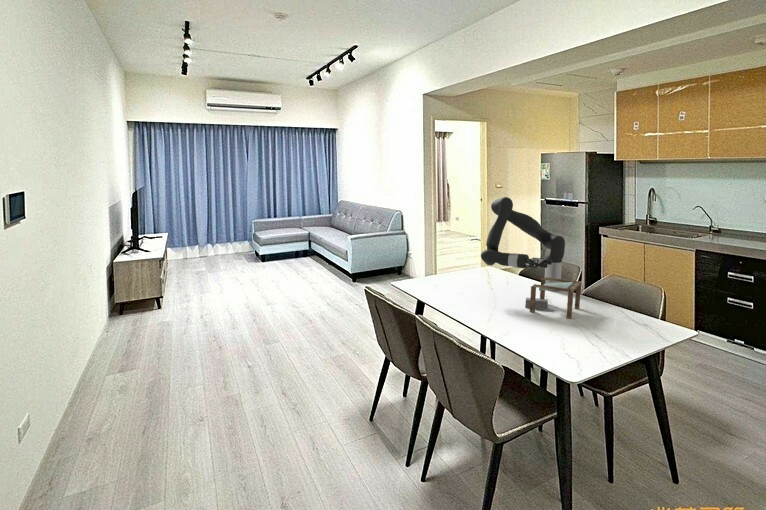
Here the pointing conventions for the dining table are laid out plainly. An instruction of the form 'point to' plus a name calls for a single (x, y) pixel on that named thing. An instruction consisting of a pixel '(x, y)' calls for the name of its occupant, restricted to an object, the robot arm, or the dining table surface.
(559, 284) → the trapdoor
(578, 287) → the trapdoor frame
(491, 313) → the dining table surface
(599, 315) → the dining table surface
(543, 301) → the grey rectangular block
